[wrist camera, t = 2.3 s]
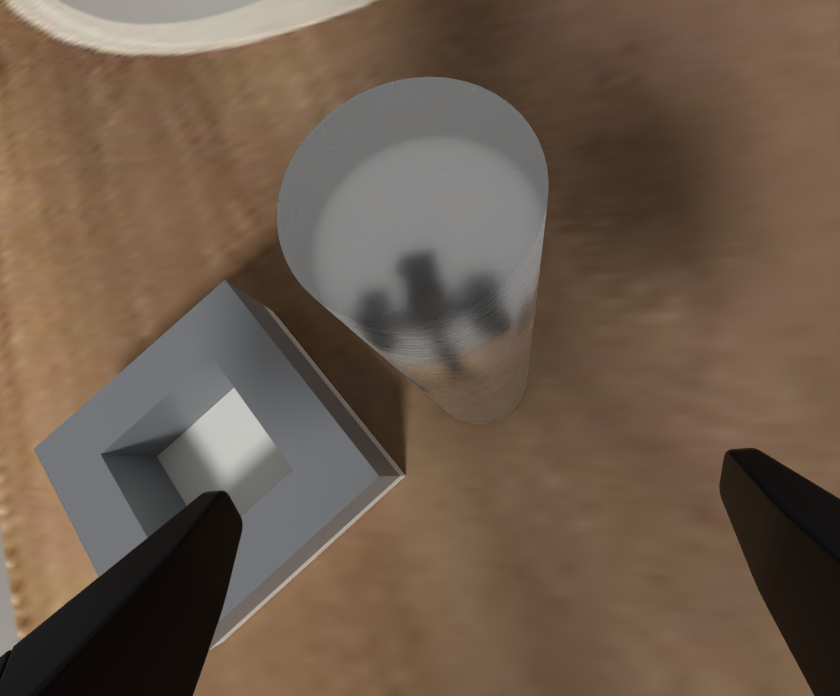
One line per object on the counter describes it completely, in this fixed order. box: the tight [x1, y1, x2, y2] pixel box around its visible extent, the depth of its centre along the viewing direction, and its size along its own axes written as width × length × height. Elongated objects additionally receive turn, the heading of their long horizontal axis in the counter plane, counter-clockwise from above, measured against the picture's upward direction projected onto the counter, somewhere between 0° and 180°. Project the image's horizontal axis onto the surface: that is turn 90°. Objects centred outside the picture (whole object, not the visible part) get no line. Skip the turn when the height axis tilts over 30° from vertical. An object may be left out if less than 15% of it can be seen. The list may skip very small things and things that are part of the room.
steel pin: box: [277, 77, 549, 425], centre depth 14 cm, size 4×4×14 cm
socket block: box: [34, 280, 406, 650], centre depth 19 cm, size 10×10×4 cm
